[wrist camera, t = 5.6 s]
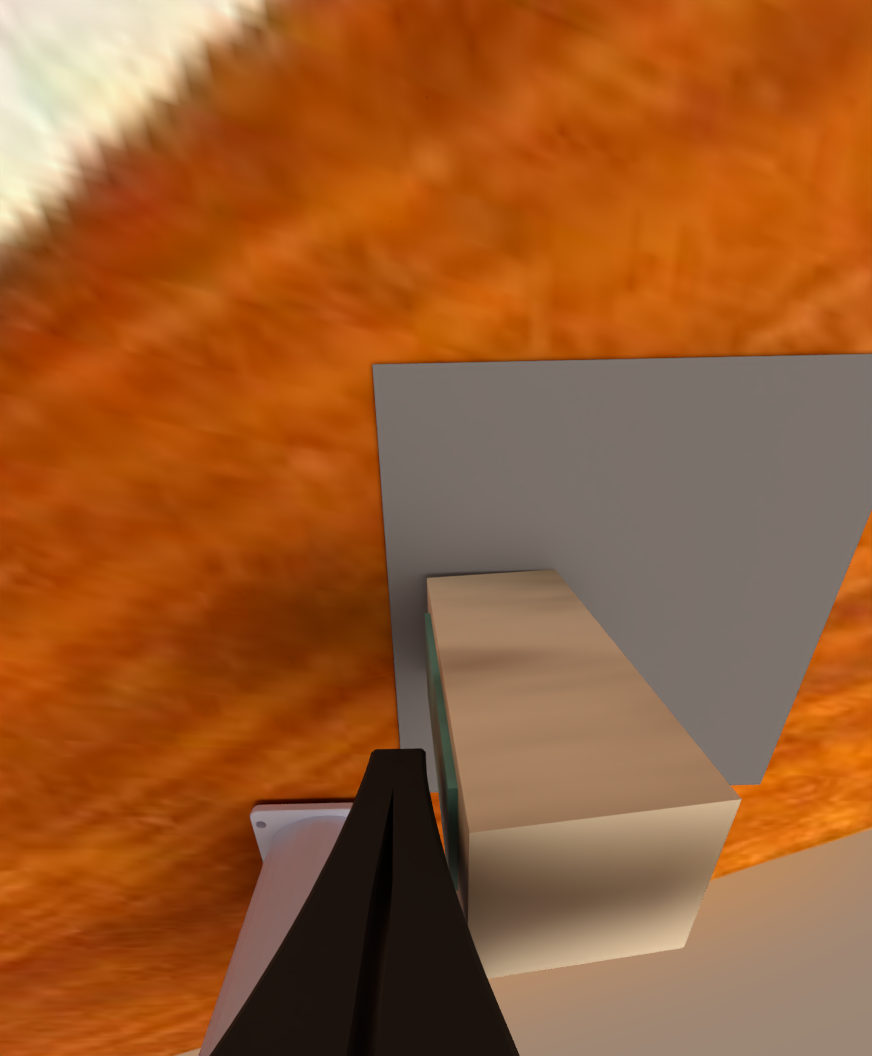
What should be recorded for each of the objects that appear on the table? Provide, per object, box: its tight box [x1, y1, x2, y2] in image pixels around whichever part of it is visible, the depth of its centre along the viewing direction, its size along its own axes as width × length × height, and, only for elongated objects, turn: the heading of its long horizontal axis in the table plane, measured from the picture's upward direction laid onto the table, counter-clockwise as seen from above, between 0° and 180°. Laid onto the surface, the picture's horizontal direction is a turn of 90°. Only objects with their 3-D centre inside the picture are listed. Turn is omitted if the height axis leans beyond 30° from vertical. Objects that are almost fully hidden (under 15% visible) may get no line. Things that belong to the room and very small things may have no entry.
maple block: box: [425, 569, 741, 979], centre depth 12 cm, size 5×5×9 cm
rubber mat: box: [372, 354, 872, 792], centre depth 17 cm, size 20×18×1 cm
